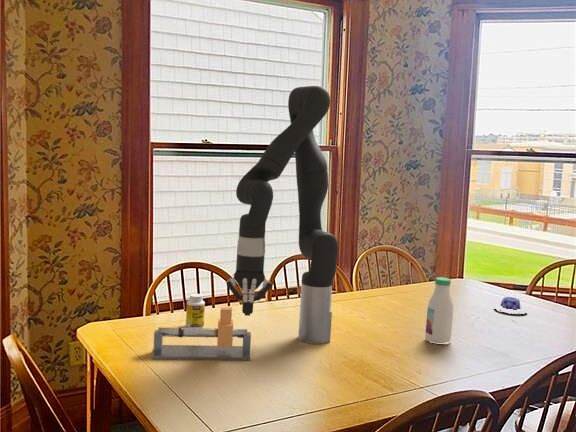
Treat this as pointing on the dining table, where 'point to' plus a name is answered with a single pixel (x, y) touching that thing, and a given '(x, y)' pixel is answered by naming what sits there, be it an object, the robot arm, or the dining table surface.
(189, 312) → the supplement bottle
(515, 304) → the pudding
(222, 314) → the collar
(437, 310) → the milk bottle
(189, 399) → the dining table surface
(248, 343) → the pipe stand
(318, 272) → the robot arm
